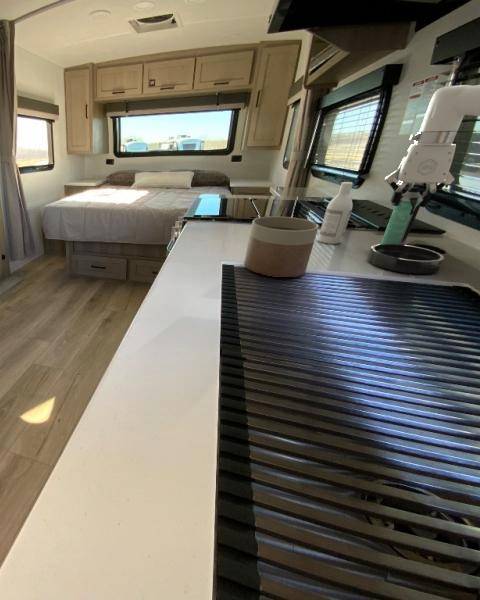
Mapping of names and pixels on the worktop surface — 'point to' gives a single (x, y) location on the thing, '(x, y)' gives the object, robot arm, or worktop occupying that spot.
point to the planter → (280, 246)
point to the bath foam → (337, 216)
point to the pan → (405, 258)
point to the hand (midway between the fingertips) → (407, 205)
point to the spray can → (403, 217)
